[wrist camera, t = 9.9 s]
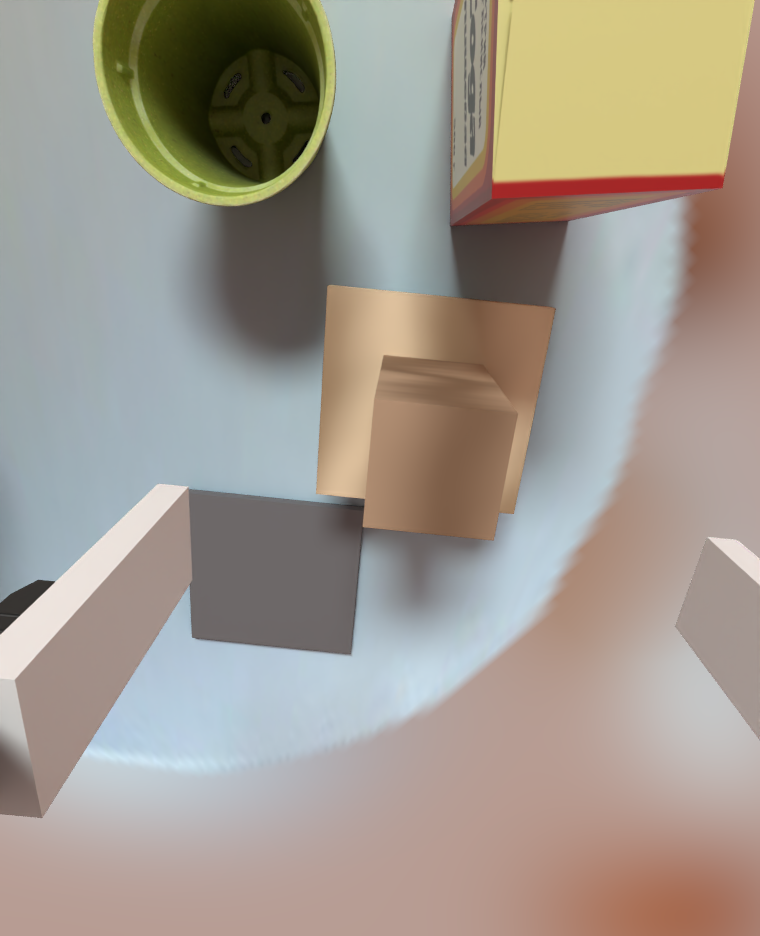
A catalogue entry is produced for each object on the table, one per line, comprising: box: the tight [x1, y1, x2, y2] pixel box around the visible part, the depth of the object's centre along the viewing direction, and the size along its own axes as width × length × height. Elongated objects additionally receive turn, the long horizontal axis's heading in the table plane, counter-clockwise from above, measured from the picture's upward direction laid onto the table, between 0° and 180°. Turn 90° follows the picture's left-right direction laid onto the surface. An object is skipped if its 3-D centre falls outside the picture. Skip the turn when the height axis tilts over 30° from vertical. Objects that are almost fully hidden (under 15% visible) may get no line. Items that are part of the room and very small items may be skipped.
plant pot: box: [93, 0, 336, 207], centre depth 25 cm, size 9×9×9 cm
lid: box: [316, 285, 556, 541], centre depth 24 cm, size 11×11×10 cm
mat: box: [189, 489, 364, 654], centre depth 39 cm, size 12×12×1 cm
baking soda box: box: [450, 0, 755, 226], centre depth 21 cm, size 10×6×16 cm
